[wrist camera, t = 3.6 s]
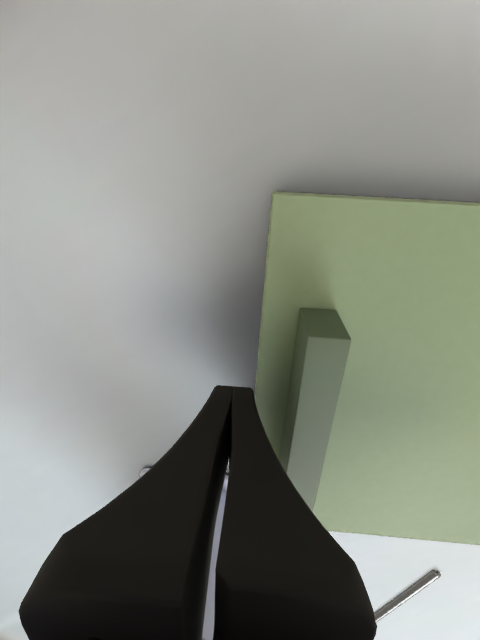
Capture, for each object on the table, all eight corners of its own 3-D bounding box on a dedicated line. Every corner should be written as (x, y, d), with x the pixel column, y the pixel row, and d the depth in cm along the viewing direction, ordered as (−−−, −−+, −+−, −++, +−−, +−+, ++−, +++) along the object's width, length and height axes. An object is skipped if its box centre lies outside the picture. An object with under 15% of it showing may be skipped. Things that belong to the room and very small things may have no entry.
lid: (507, 531, 16) (554, 601, 13) (245, 507, 16) (241, 570, 14) (714, 216, 9) (881, 233, 7) (271, 191, 10) (274, 199, 7)
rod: (316, 652, 35) (316, 661, 34) (431, 565, 27) (434, 574, 27) (321, 654, 35) (322, 663, 34) (438, 568, 27) (442, 578, 27)
